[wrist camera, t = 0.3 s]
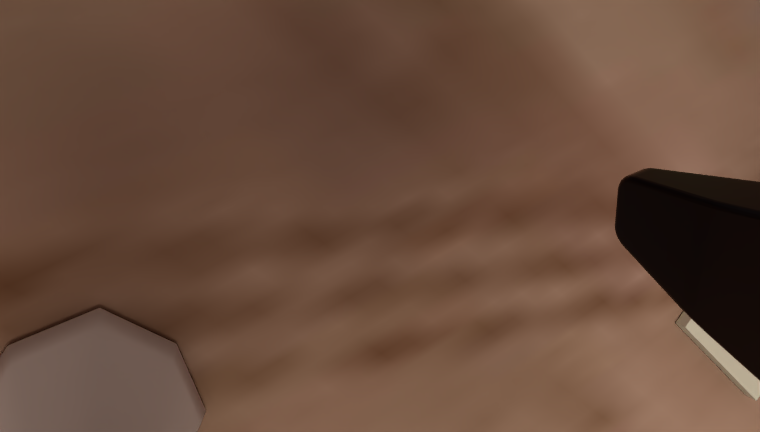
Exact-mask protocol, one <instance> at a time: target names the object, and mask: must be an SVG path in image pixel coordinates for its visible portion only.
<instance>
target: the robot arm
mask: <svg viewBox="0 0 760 432" xmlns="http://www.w3.org/2000/svg"><path fill="white" fill-rule="evenodd" d="M615 230H616V234H617V237H618V239H619V241H620V242H621V244H622V245H623V246H624V247H625V248H626V249H627V250H628V251H629V252H630V254H631V255H632V256H633V257H634V258H635V259H636V260H637V261H638V262H639V263H640V264H641V265H642V267H643V268H644V269H645V270H646V271H647V272H648V273H649V274H650V275H651V276H652V277H653V278H654V280H655V281H656V282H657V283H658V284H659V285H660V286H661V287H662V288H663V289H664V290H665V291H666V293H667V294H668V295H669V296H670V297H671V298H672V299H673V300H674V301H675V302H676V303H677V304H678V306H679V307H680V308H681V309H682V310H683V311H684V312H685V313H686V314H687V315H688V316H689V317H690V318H691V319H692V320H693V321H694V322H695V323H696V324H697V325H698V326H699V327H700V328H701V329H703V330H704V331H705V332H706V333H707V334H708V335H709V336H710V337H711V338H712V339H714V340H715V341H716V342H717V343H718V344H719V345H720V346H721V347H722V348H724V349H725V350H726V351H727V352H728V353H729V354H730V355H731V356H733V357H734V358H735V359H736V360H737V361H738V362H739V363H740V364H741V365H743V366H744V367H745V368H746V369H747V370H748V371H749V372H750V373H751V374H753V375H754V376H755V377H756V378H757V379H758V380H759V381H760V182H756V181H748V180H740V179H732V178H724V177H717V176H709V175H701V174H693V173H685V172H677V171H670V170H662V169H654V168H647V169H643V170H640V171H638V172H635V173H633V174H631V175H628V176H626V177H625V178H623V179H622V180H621V182H620V184H619V187H618V196H617V208H616V219H615Z"/></svg>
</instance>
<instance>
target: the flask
mask: <svg viewBox="0 0 760 432" xmlns="http://www.w3.org/2000/svg"><path fill="white" fill-rule="evenodd" d="M205 412H206V409H205V407H204V405H203V403H202V400H201V398H200V396H199V394H198V391H197V389H196V387H195V385H194V382H193V380H192V378H191V376H190V373H189V371H188V369H187V367H186V364H185V362H184V360H183V357H182V355H181V353H180V351H179V348H178V346H177V344H176V343H174V342H171V341H169V340H167V339H165V338H163V337H161V336H159V335H157V334H154V333H152V332H150V331H148V330H146V329H144V328H142V327H140V326H137V325H135V324H133V323H131V322H129V321H127V320H125V319H123V318H120V317H118V316H116V315H114V314H112V313H110V312H108V311H106V310H103V309H101V308H97V309H95V310H93V311H90V312H88V313H85V314H83V315H80V316H78V317H76V318H73V319H71V320H68V321H66V322H64V323H61V324H59V325H56V326H54V327H51V328H49V329H47V330H44V331H42V332H39V333H37V334H34V335H32V336H30V337H27V338H25V339H22V340H20V341H17V342H15V343H13V344H10V345H8V346H7V347H6V349H5V350H4V352H3V353H2V355H1V356H0V432H197V431H198V429H199V426H200V424H201V422H202V419H203V417H204V414H205Z"/></svg>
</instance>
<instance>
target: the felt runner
mask: <svg viewBox="0 0 760 432" xmlns="http://www.w3.org/2000/svg"><path fill="white" fill-rule="evenodd" d="M676 324H677V325H678V326H679V327H680V328H681V329H682V330H683V331H684V332H685V333H686V334H687V335H688V336H689V337H690V338H691V339H692V341H693V342H694V343H695V344H696V345H697V346H698V347H699V348H700V349H701V350H702V351H703V352H704V353H705V354H706V355H707V356H708V357H709V358H710V359H711V360H712V361H713V362H714V363H715V364H716V365H717V366H718V367H719V368H720V369H721V370H722V371H723V372H724V373H725V374H726V375H727V376H728V377H729V378H730V379H731V380H732V381H733V382H734V383H735V384H736V385H737V387H738V388H739V389H740V390H741V391H742V392H743V393H744V394H745V395H746V396H748V397H750V398H752V399H754V400H756V401H757V399H758V398H759V396H760V381H759V380H758V379H757V378H756V377H755V376H754V375H753V374H751V373H750V372H749V371H748V370H747V369H746V368H745V367H744V366H743V365H741V364H740V363H739V362H738V361H737V360H736V359H735V358H734V357H733V356H731V355H730V354H729V353H728V352H727V351H726V350H725V349H724V348H722V347H721V346H720V345H719V344H718V343H717V342H716V341H715V340H714V339H712V338H711V337H710V336H709V335H708V334H707V333H706V332H705V331H704V330H703V329H701V328H700V327H699V326H698V325H697V324H696V323H695V322H694V321H693V320H692V319H691V318H690V317H689V316H688V315H687V314H686V313H685V312H684V311H683V313H682V314H681V316H680V317H679V319H678V320H677V321H676Z"/></svg>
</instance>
